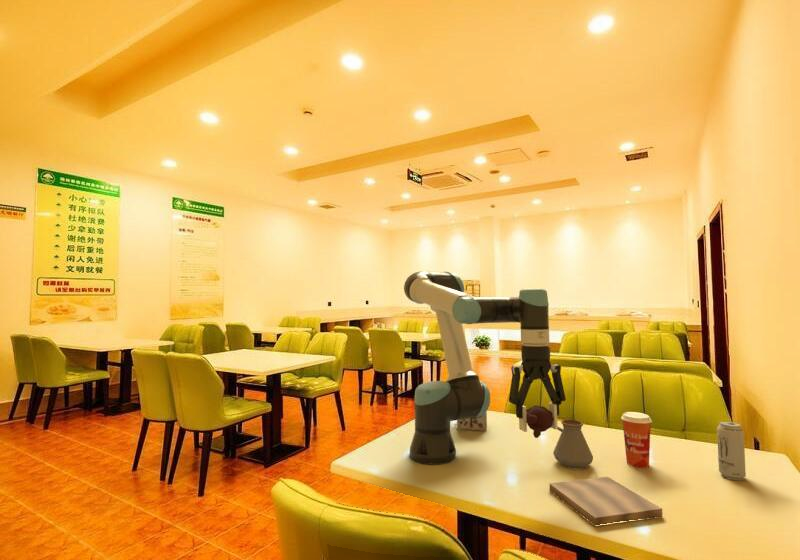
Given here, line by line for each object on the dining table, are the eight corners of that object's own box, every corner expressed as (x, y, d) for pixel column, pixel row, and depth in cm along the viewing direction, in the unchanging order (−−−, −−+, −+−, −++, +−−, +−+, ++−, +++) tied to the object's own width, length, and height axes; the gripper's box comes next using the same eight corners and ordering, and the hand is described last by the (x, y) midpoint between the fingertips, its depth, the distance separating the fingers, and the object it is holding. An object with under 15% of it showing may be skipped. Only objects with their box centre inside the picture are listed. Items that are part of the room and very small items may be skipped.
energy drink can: (713, 472, 121) (711, 421, 122) (731, 471, 122) (729, 420, 123) (732, 481, 115) (730, 427, 116) (751, 480, 116) (749, 426, 117)
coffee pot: (596, 462, 129) (595, 414, 130) (589, 475, 120) (587, 422, 121) (529, 448, 142) (528, 404, 142) (517, 459, 132) (516, 411, 133)
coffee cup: (619, 464, 128) (617, 415, 128) (626, 456, 134) (625, 409, 135) (650, 471, 122) (648, 420, 123) (656, 463, 128) (654, 414, 129)
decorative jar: (458, 421, 174) (458, 378, 175) (486, 422, 172) (486, 379, 173) (456, 429, 162) (456, 383, 163) (486, 431, 160) (486, 384, 161)
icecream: (528, 400, 120) (514, 416, 107) (553, 395, 116) (542, 412, 103) (535, 423, 119) (522, 443, 106) (561, 420, 115) (551, 440, 102)
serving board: (595, 526, 93) (595, 517, 93) (549, 490, 110) (549, 483, 110) (662, 517, 96) (662, 508, 97) (607, 484, 114) (607, 476, 114)
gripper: (505, 347, 108) (508, 436, 106) (578, 344, 112) (581, 430, 110) (493, 344, 115) (496, 428, 113) (561, 342, 119) (565, 422, 118)
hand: (538, 429), depth 112 cm, fingers closed on icecream, 8 cm apart
